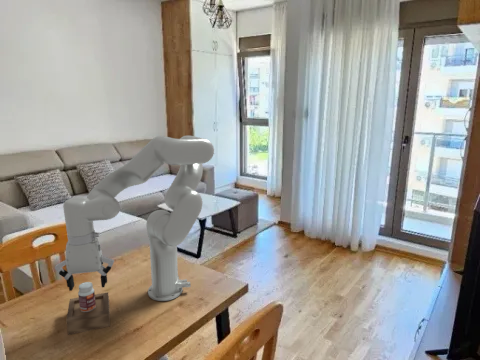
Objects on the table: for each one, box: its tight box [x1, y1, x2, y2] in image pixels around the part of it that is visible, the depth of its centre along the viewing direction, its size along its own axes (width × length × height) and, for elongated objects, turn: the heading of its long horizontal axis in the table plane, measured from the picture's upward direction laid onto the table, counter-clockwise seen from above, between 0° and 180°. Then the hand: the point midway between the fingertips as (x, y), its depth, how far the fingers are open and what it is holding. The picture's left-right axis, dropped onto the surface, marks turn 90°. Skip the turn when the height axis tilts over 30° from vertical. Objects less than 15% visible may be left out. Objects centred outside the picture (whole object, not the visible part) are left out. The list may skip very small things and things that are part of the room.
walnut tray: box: [65, 291, 111, 336], centre depth 113 cm, size 12×12×5 cm
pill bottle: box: [78, 281, 96, 312], centre depth 111 cm, size 5×5×8 cm
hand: (88, 286), depth 111 cm, fingers open, 9 cm apart
